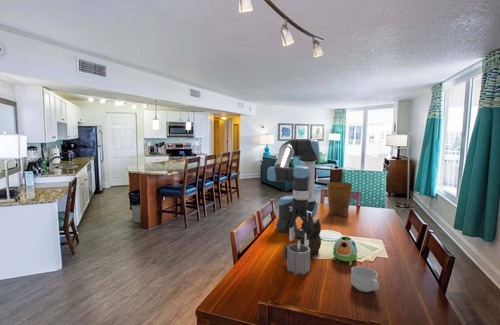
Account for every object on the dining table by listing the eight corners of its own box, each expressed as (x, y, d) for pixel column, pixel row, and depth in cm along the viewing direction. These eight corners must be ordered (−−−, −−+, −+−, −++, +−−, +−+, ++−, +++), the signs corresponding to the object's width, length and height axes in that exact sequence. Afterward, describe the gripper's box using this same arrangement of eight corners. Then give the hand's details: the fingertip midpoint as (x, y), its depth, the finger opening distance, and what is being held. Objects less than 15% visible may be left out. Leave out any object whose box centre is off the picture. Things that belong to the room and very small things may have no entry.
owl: (321, 250, 159) (322, 217, 157) (319, 260, 147) (321, 224, 145) (299, 247, 163) (300, 215, 161) (296, 257, 151) (297, 222, 149)
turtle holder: (359, 253, 156) (361, 233, 154) (354, 267, 140) (355, 245, 139) (337, 249, 162) (338, 229, 160) (330, 261, 146) (331, 240, 145)
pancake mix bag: (349, 217, 220) (351, 183, 217) (325, 214, 229) (327, 181, 226) (350, 215, 226) (352, 182, 223) (327, 212, 235) (328, 180, 232)
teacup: (346, 281, 127) (347, 265, 126) (368, 281, 128) (369, 264, 127) (360, 300, 113) (362, 282, 112) (385, 299, 114) (387, 281, 113)
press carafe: (277, 266, 140) (278, 245, 139) (291, 259, 148) (291, 240, 147) (300, 277, 130) (301, 255, 129) (313, 269, 138) (314, 248, 136)
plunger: (287, 266, 138) (288, 229, 136) (296, 261, 143) (297, 226, 141) (299, 272, 132) (301, 233, 130) (308, 267, 137) (310, 229, 135)
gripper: (278, 195, 139) (277, 238, 141) (314, 203, 123) (312, 251, 126) (288, 193, 144) (287, 234, 146) (323, 201, 128) (321, 247, 131)
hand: (298, 242), depth 136 cm, fingers open, 8 cm apart
